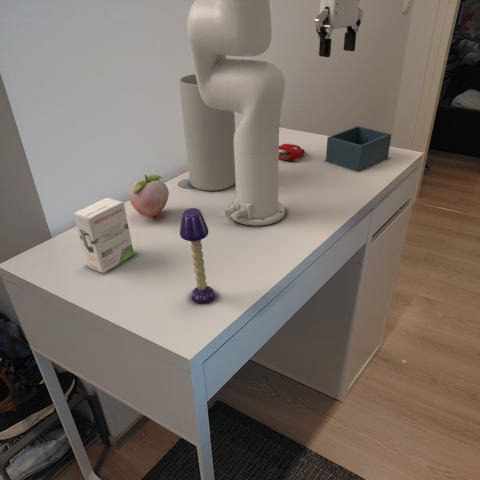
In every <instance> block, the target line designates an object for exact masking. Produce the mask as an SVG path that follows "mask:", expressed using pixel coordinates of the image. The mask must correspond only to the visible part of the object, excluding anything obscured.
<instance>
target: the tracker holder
mask: <svg viewBox="0 0 480 480" xmlns="http://www.w3.org/2000/svg"><path fill="white" fill-rule="evenodd" d="M279 151H284V152H285V151H286V152H289V153H290V155H289V156H288V157H286V156H283V155H279V159H280V160H284V161H290V162H293V161H294V162H295V161H296V160H297V159H299V157H300V156H301V155H302V154H305V149H304V148H301V146H299V145H298V144H294V143H282V144H281V145H279Z"/></svg>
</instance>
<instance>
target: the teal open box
mask: <svg viewBox="0 0 480 480" xmlns="http://www.w3.org/2000/svg"><path fill="white" fill-rule="evenodd" d="M366 137H367V143H366ZM391 140H392V133H389V132H385V131H381V130H377V129H373V128H369V127H365V126H360V125H356V126H354V127H351V128H348V129H346V130H343V131H339V132H338V133H334V134H332V135H330V136H329V135H328V136H327V139H326V151H325V152H326V153H325V162H327V163H330V164H333V165H336V166H340V167H343V168H347V169H349V170H353V171H356V172H360V171H362V170H365V169H367V168H369V167H371V166H372V167H373V166H374V165H377V164H379V163H381V162H383V161H385V160H387V159H388V158H389V154H390V153H389V152H390V146H391ZM352 141H353V142H354V143H353V142H352ZM355 143H357V144H355ZM359 144H363V145H359Z"/></svg>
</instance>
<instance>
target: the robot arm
mask: <svg viewBox="0 0 480 480" xmlns="http://www.w3.org/2000/svg"><path fill="white" fill-rule="evenodd" d="M319 3H320V4H319V13H318V15H317V16H316V17H315V18H314V26H315V32H316V33H317V38H318V39H319V45H318V46H319V47H318V56H319V57H323V58H330V56H331V52H332V38H331V36H332V34H333V32H334V30H336V29H341V28H345V30H346V32H344V37H343V38H344V39H343V51H346V52H355V50H356V43H357V42H356V41H357V34H358V32H359V27H360V26H361V23H362V22H361V21H362V19H363V16H364V9H361V7H360V0H320V2H319ZM270 5H271V4H270V0H194V2H193V3H192V4H191V6H190V8H189V11H188V15H187V22H186V23H187V24H186V33H187V41H188V46H189V51H190V56H191V60H192V64H193V70H194V74H195V75H196V79H197V84H198V88H199V92H200V95H201V97H202V100H203V101H204V103H205V104H206V105H207V106H209V107H211V108H213V109H218V110H225V111H233V112H234V113H237V114H241V115H242V118H241V120H240V122H239V123H238V125H237V126H236V127H235V133H234V160H235V182H236V183H235V197H233V198H232V203H231V204H230V205H229V206H227V207H223V208H222V209H220V210H219V213H220V216H221V217H222V218H224V219H225V218H227V217H229V216H230V218H231V219H232V220H233V221H235V222H236V223H238V224H242V225H245V226H254V227H255V226H256V227H257V226H266V225H271V224H275V223H277V222H279V221H280V220H281V219H283V218H284V217H285V214H286V208H285V206H284V205H283V204H282V202H280V201H279V169H280V167H279V165H280V163H279V161H280V160H279V159H280V158H279V156H280V150H279V146H280V124H281V123H280V121H281V113H282V112H281V111H282V105H283V101H284V96H285V88H286V87H285V85H286V82H285V81H286V80H285V76H284V74H283V71H282V69H280V67H279V66H277V64H276V65H275V64H274V63H271V62H268V61H265V60H256V59H245V58H241V59H240V58H239V59H237V58H228V57H227V56H229V57H258V56H260V55H262V54H264V53H266V51H267V50H268V49H269V48H270V45H271V41H272V17H271V16H272V15H271V6H270Z"/></svg>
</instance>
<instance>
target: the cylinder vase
mask: <svg viewBox="0 0 480 480" xmlns="http://www.w3.org/2000/svg"><path fill="white" fill-rule="evenodd" d="M178 85H179V91H180V92H179V94H180V103H181V112H182V121H183V130H184V140H185V151H186V160H187V168H188V178H189V179H188V180H189V184H190V185H191V186H192V187H194V188H195V189H198V190H201V191H209V192H210V191H211V192H212V191H213V192H215V191H221V190H226V189H228V188H231V187H232V186H234V185H236V182H235V160H234V133H235V130H236V117H235V116H236V115H235V112H233V111H225V110H218V109H213V108H211V107H209V106H207V105H206V104H205V103H204V101H203V100H202V97H201V95H200V92H199V88H198V84H197V79H196V75H195V73H192V74H188V75H184V76H182V77H180V78H179V79H178Z"/></svg>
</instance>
